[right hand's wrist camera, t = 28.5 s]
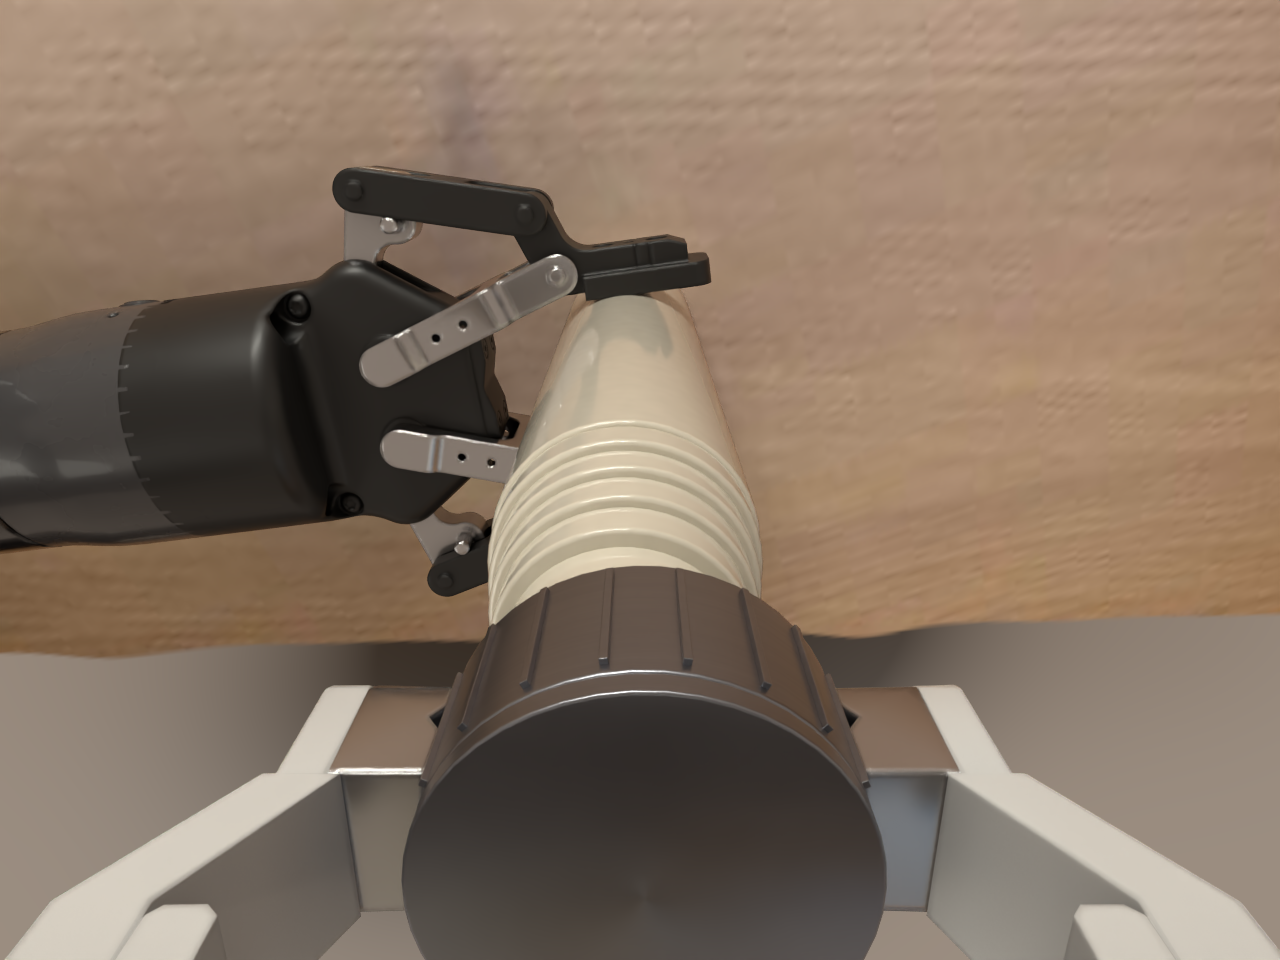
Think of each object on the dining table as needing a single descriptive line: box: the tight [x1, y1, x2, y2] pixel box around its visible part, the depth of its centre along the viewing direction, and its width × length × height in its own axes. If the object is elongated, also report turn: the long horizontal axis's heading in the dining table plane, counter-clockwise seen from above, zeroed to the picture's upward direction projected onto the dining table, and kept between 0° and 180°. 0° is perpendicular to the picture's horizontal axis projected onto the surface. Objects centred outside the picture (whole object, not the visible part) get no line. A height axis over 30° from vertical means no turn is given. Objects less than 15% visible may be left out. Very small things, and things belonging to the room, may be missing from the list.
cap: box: [401, 566, 887, 960], centre depth 9 cm, size 4×4×2 cm
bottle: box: [487, 289, 763, 627], centre depth 21 cm, size 5×5×26 cm
